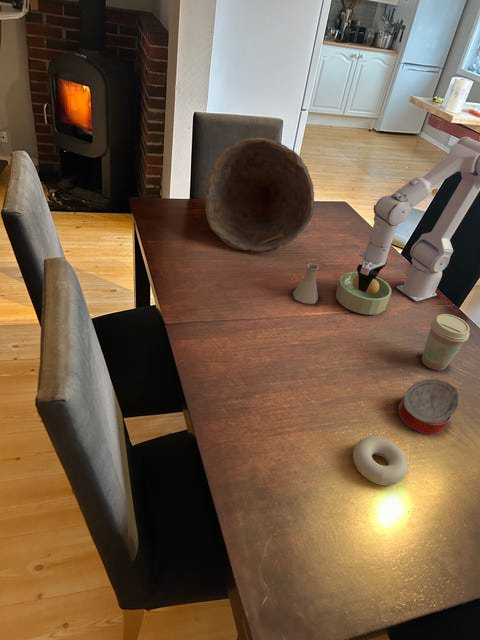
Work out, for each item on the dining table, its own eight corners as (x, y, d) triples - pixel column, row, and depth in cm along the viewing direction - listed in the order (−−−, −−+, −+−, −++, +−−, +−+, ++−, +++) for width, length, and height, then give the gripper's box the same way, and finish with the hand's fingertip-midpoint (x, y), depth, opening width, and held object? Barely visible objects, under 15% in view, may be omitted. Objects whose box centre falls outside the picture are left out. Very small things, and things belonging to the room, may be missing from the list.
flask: (317, 307, 128) (325, 275, 122) (291, 301, 128) (298, 269, 123) (318, 293, 134) (327, 262, 128) (293, 287, 134) (301, 257, 128)
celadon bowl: (361, 284, 141) (366, 268, 138) (395, 309, 132) (402, 293, 128) (325, 293, 134) (329, 276, 131) (358, 321, 125) (364, 304, 122)
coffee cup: (408, 354, 116) (426, 315, 109) (434, 348, 119) (453, 310, 112) (432, 377, 110) (452, 337, 103) (459, 371, 113) (480, 331, 106)
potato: (348, 289, 130) (352, 275, 128) (353, 283, 134) (358, 269, 131) (373, 299, 128) (378, 285, 125) (378, 293, 131) (383, 279, 128)
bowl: (280, 133, 166) (273, 111, 137) (331, 217, 168) (335, 213, 139) (201, 187, 174) (178, 178, 144) (251, 268, 176) (238, 274, 147)
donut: (393, 444, 92) (344, 443, 90) (399, 433, 90) (349, 431, 88) (412, 490, 84) (359, 489, 82) (419, 478, 82) (365, 477, 80)
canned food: (435, 446, 99) (459, 436, 90) (389, 428, 100) (408, 417, 91) (444, 397, 104) (467, 383, 95) (400, 381, 105) (419, 365, 96)
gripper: (374, 229, 129) (360, 271, 137) (355, 246, 118) (342, 291, 126) (398, 237, 126) (383, 280, 134) (382, 256, 116) (366, 302, 124)
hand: (365, 286), depth 130 cm, fingers closed on potato, 4 cm apart
